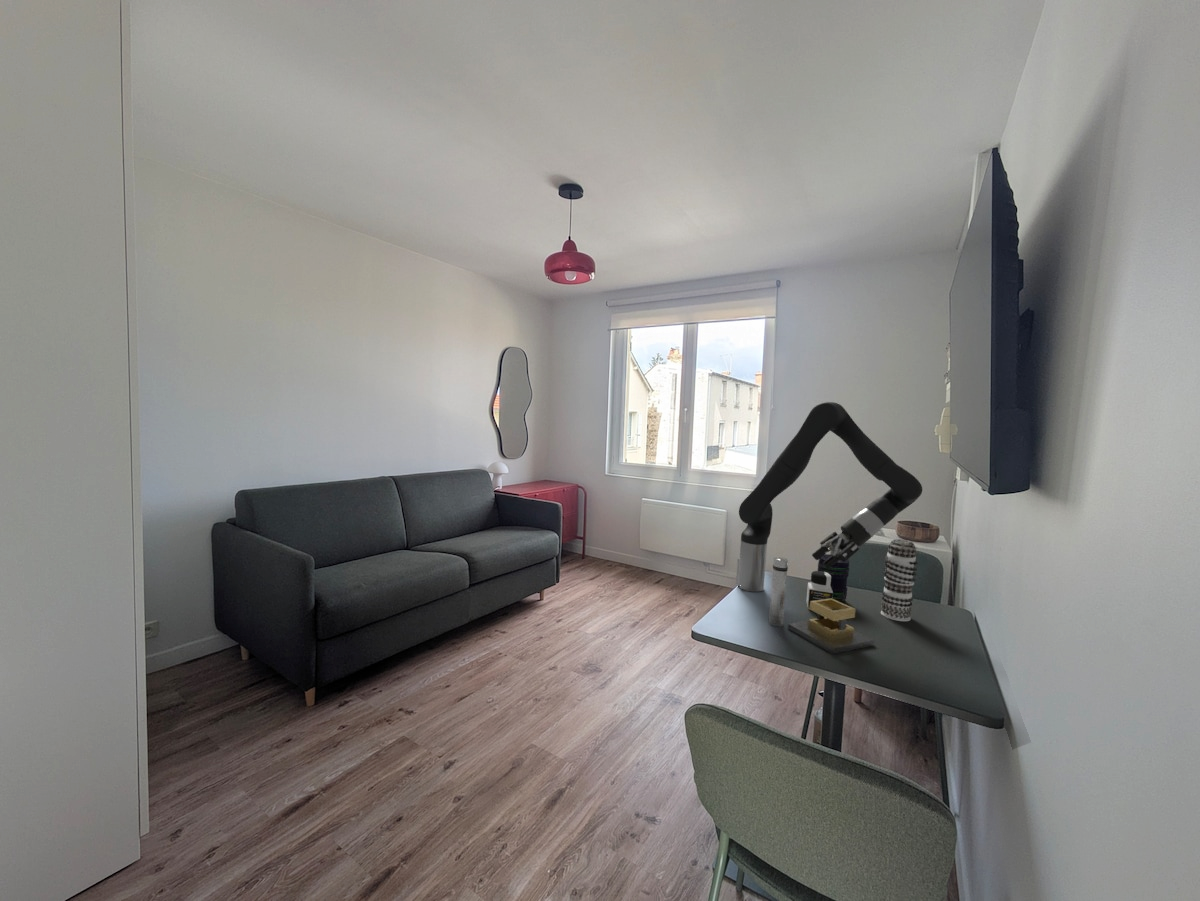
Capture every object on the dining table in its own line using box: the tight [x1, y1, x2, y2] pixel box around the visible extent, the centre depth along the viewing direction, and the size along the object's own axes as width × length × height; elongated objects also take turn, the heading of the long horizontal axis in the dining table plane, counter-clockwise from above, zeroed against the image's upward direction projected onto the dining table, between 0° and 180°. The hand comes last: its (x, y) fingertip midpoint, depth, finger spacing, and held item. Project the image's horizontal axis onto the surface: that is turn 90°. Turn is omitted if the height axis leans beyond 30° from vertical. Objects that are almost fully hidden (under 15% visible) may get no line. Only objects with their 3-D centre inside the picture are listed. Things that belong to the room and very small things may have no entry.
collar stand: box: [787, 598, 875, 655], centre depth 142 cm, size 16×16×10 cm
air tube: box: [768, 557, 789, 628], centre depth 149 cm, size 4×4×20 cm
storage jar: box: [817, 553, 850, 605], centre depth 172 cm, size 10×10×15 cm
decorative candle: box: [880, 538, 919, 622], centre depth 160 cm, size 9×9×25 cm
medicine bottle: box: [806, 570, 833, 610], centre depth 165 cm, size 7×7×12 cm
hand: (819, 562), depth 148 cm, fingers open, 8 cm apart
